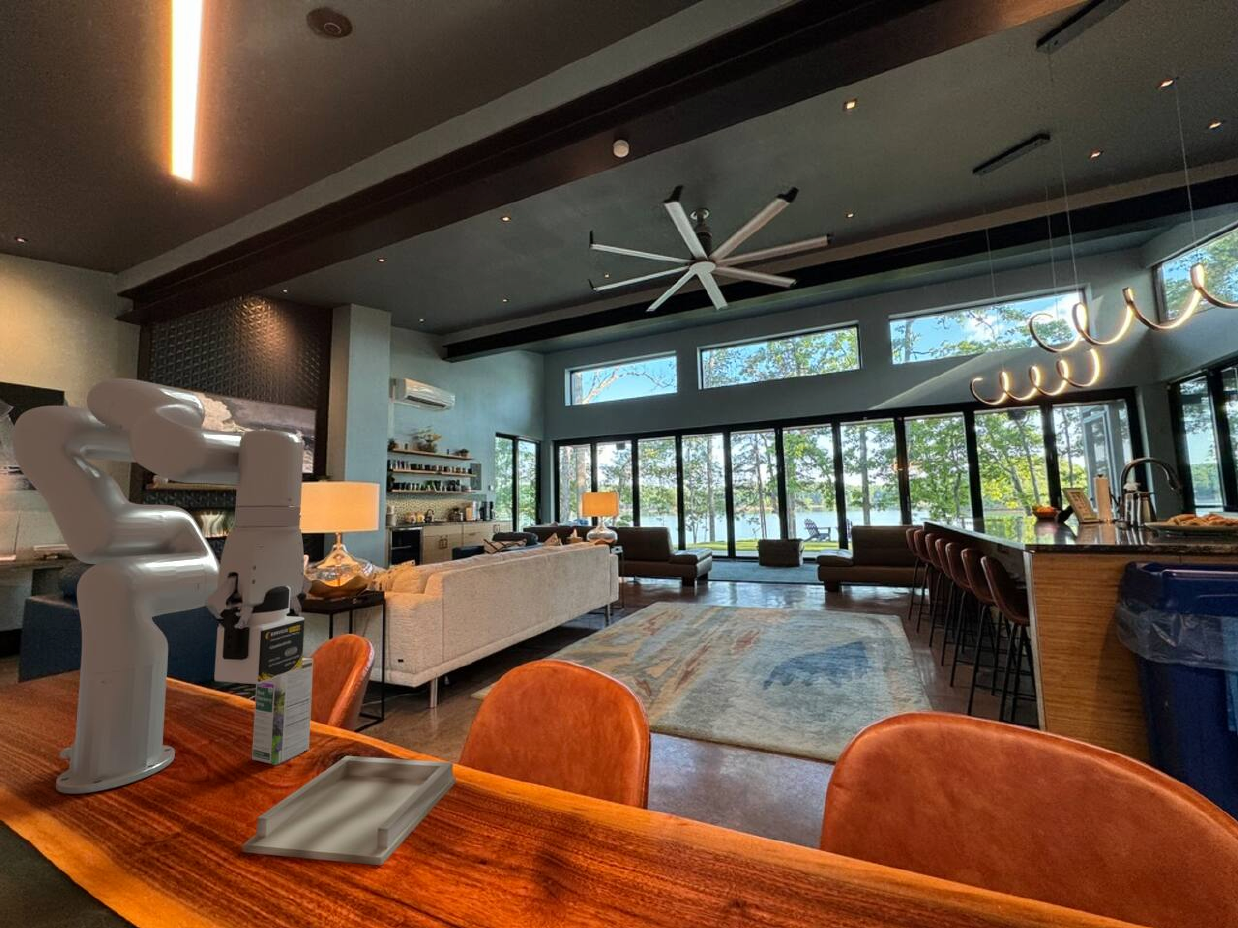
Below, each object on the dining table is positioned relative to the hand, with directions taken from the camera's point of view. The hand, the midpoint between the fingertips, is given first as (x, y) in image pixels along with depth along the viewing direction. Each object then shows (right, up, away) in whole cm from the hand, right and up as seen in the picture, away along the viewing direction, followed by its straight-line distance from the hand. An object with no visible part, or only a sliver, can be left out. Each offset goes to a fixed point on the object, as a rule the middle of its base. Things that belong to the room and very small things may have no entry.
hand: (261, 649), depth 70 cm
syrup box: (-5, -21, +11) cm, 24 cm away
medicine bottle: (0, -4, 0) cm, 4 cm away
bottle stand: (+16, -19, -5) cm, 25 cm away
